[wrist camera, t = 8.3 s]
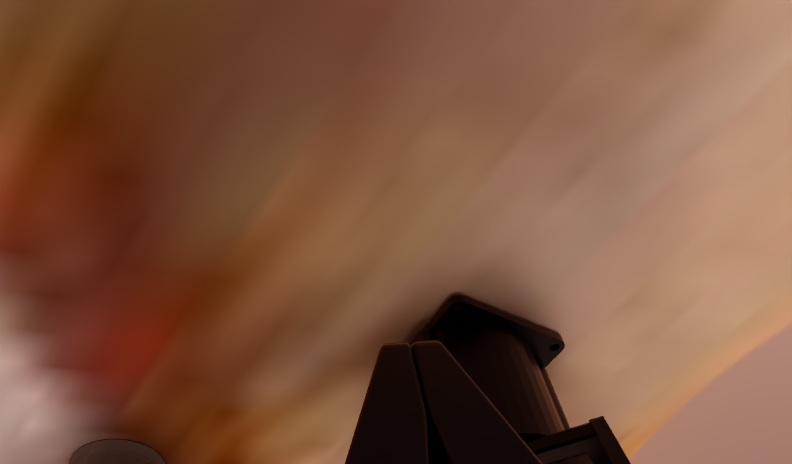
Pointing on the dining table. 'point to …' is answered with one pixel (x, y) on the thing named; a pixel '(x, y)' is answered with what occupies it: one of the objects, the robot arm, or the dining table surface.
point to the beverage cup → (116, 453)
